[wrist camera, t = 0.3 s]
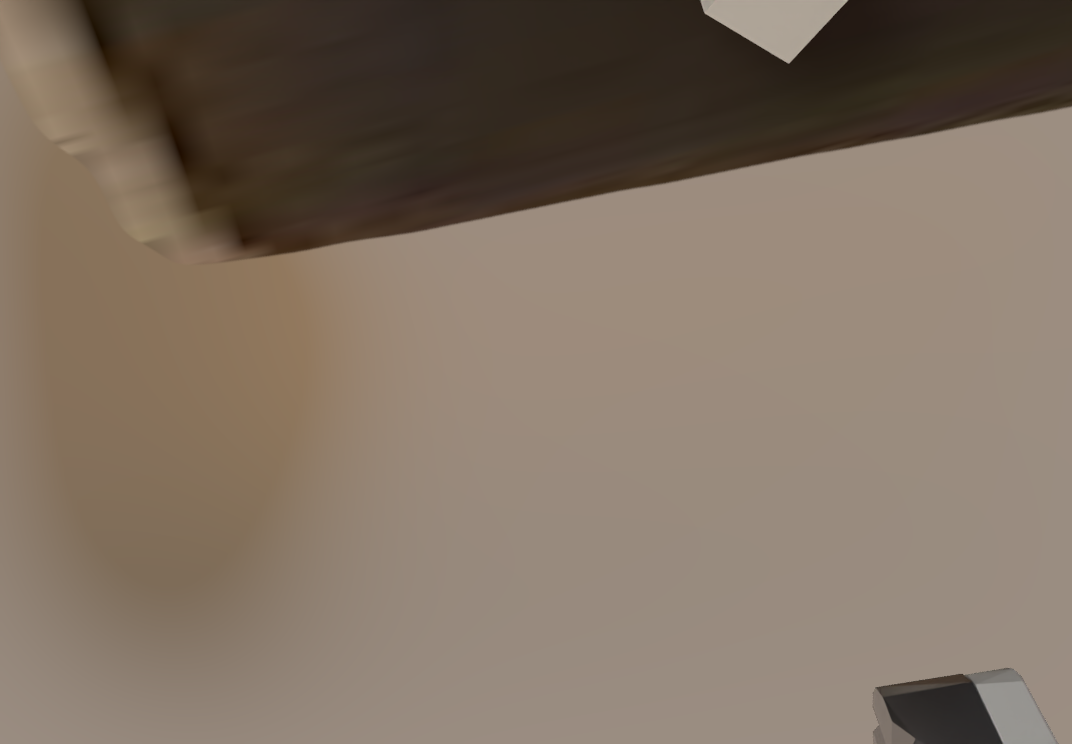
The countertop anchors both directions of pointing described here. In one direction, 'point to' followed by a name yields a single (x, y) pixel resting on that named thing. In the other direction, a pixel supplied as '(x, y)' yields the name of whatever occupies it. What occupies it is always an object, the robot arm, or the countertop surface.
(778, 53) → the tower top
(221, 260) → the countertop surface
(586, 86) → the countertop surface
